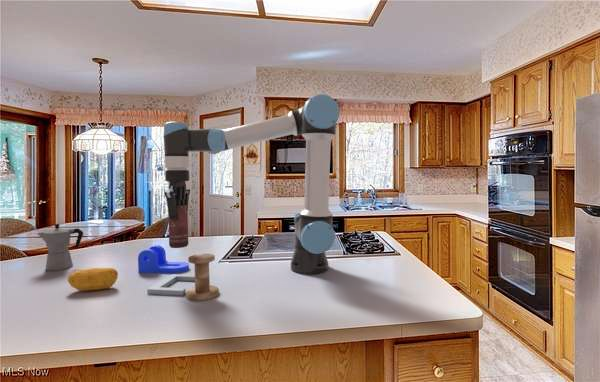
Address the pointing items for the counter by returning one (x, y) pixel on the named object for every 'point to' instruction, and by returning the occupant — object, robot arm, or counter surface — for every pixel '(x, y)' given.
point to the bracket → (158, 262)
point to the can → (179, 228)
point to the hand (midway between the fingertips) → (179, 239)
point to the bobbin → (202, 278)
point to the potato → (93, 278)
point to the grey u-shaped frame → (161, 286)
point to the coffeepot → (59, 247)
